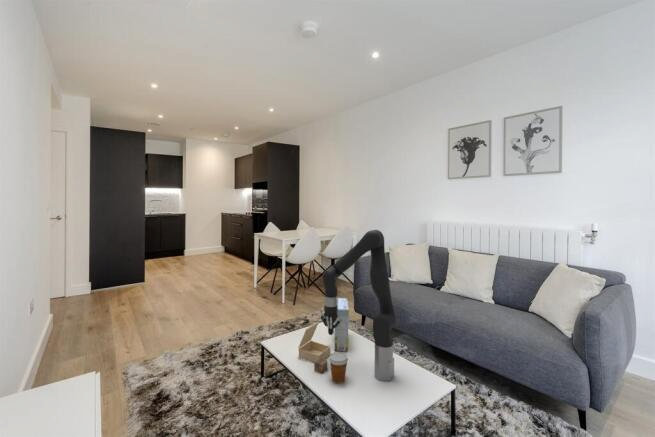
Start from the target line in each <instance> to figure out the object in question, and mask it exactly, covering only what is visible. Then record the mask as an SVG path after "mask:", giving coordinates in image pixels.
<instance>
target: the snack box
mask: <svg viewBox="0 0 655 437" xmlns="http://www.w3.org/2000/svg"><path fill="white" fill-rule="evenodd" d="M349 310H350V308H349V302H348V298H345V297H342V298H341V297H338V313H337V315H338V318H339V319H341V320H342V321H341V322H340V324H339V325H338V326H337V327H336V328H334V333H333V335H334V351H335V352H348V350H349V320H350V319H349V317H350V315H349V314H350V311H349ZM336 321H337V320H336ZM336 321H335V324H336V323H337V322H336ZM335 324H334V325H335Z"/></svg>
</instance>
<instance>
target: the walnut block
mask: <svg viewBox="0 0 655 437" xmlns="http://www.w3.org/2000/svg"><path fill="white" fill-rule="evenodd" d="M313 364H314V366H313V367H314V368H313V369H314V370H313V371H314V372H316V373H319V374H321V375H323V374H324V373H325V372H326V371H328V360H326V359H325V360H324V359H321V358H319V359H318V360H316V361H315V362H314V363H313Z"/></svg>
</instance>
